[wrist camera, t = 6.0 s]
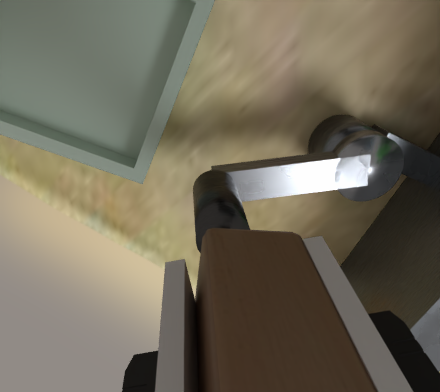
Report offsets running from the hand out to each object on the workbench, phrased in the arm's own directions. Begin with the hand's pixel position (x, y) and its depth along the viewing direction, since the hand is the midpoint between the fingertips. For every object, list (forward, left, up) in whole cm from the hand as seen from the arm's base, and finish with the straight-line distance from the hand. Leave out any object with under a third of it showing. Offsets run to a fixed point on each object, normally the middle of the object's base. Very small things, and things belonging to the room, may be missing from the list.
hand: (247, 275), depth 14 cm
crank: (-2, +5, -12) cm, 13 cm away
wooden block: (0, 0, -1) cm, 1 cm away
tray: (-3, -11, -16) cm, 20 cm away
